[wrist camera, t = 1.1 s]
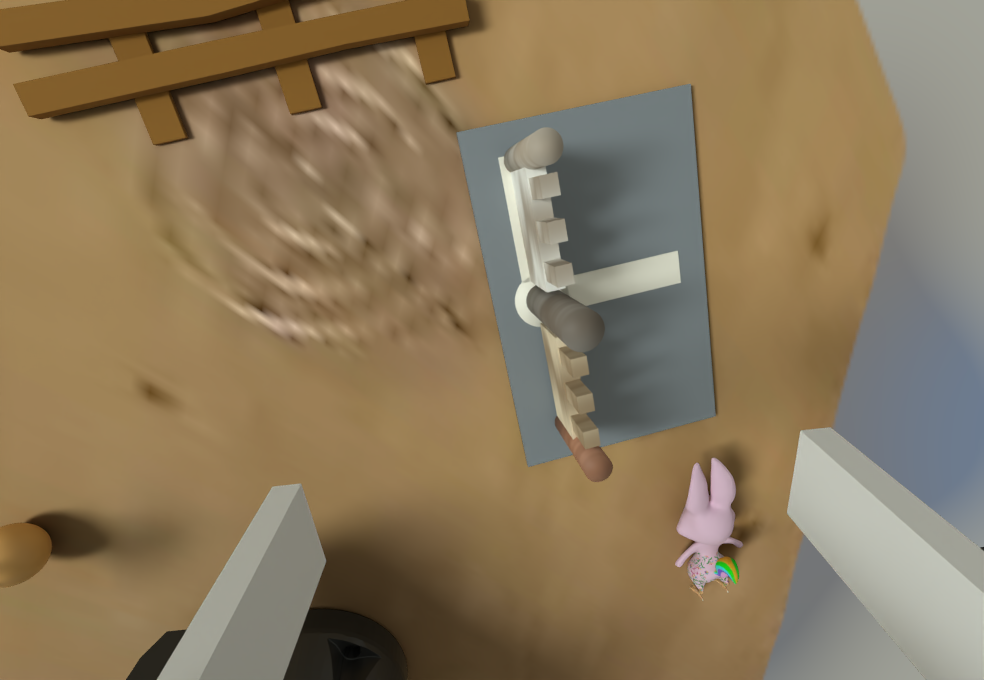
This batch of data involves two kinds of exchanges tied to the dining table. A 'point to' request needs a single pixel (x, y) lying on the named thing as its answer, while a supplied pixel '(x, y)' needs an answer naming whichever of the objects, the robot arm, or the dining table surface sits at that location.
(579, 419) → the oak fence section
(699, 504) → the rabbit figure
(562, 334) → the white fence section
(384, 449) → the dining table surface
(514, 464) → the dining table surface
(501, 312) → the board
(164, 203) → the dining table surface
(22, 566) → the figurine
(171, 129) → the decorative fence
